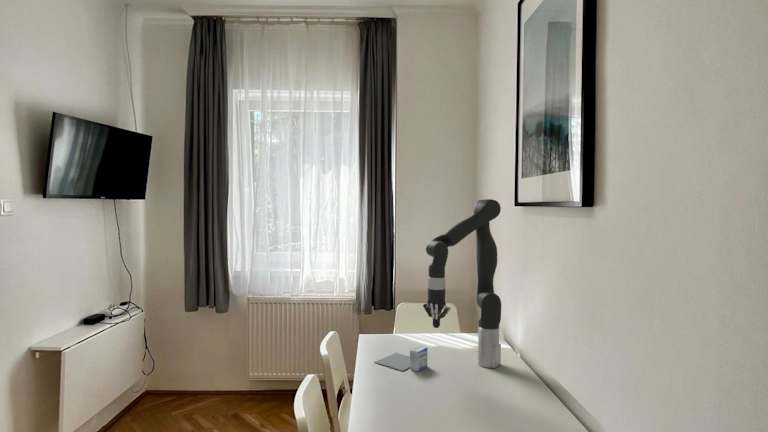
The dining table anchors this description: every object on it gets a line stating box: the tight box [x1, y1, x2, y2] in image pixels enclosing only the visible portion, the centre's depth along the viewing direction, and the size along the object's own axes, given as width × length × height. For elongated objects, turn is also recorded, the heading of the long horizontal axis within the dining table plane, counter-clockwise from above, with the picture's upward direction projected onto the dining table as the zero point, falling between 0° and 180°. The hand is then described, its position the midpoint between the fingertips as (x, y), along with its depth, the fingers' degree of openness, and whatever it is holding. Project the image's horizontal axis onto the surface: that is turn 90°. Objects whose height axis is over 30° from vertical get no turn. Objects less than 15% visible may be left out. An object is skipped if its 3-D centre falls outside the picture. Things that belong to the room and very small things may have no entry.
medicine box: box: [409, 345, 428, 373], centre depth 182 cm, size 8×4×9 cm, turn 143°
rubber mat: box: [374, 352, 410, 373], centre depth 189 cm, size 16×16×1 cm
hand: (436, 327), depth 177 cm, fingers closed
